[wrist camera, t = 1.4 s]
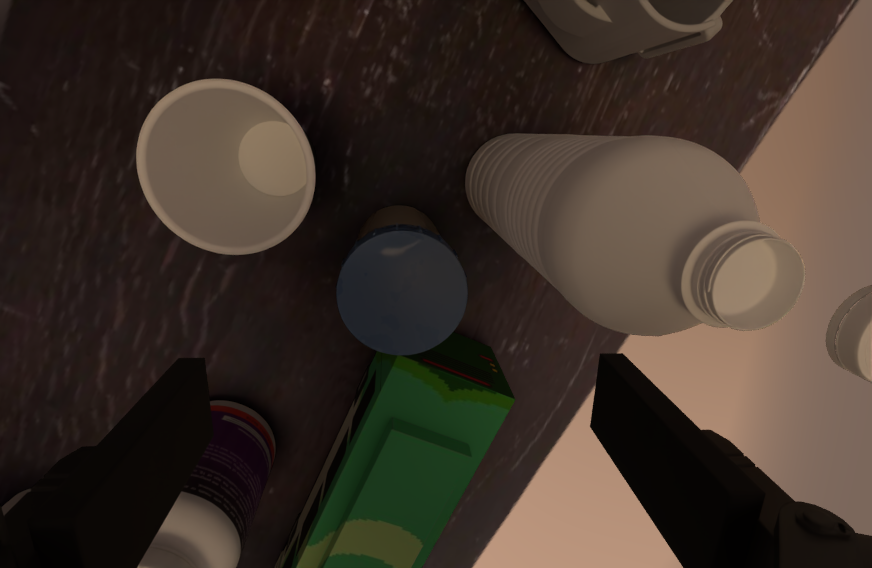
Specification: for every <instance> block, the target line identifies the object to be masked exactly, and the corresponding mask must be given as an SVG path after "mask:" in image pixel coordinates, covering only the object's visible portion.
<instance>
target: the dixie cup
mask: <svg viewBox="0 0 872 568" xmlns="http://www.w3.org/2000/svg"><path fill="white" fill-rule="evenodd" d="M136 162H137V171H138V177H139V180H140V184H141V187H142V190H143V192H144V195H145V197H146V199H147V201H148V203H149V204H150V206H151V207H152V209H153V211H154V212H155V213H156V215H157V216H158V217H159V218H160V219H161V221H162V222H163V223H164V224H165V225H166V226H167V227H168V228H169V229H170V230H172V231H173V232H174V233H175V234H176V235H178V236H179V237H181V238H182V239H184V240H185V241H187V242H189V243H191V244H193V245H195V246H197V247H199V248H202V249H205V250H208V251H211V252H215V253H220V254H229V255H244V254H251V253H256V252H260V251H263V250H266V249H268V248H271V247H273V246H275V245H277V244H278V243H280V242H282V241H283V240H284V239H286V238H287V237H288V236H289V235H291V234H292V233H293V232H294V231H295V230H296V228H297V227H298V226H299V225H300V223H301V222H302V221H303V219H304V217H305V216H306V214H307V212H308V210H309V208H310V205H311V202H312V199H313V195H314V190H315V177H316V174H315V173H316V167H317V158H316V152H315V149H314V146H313V144H312V142H311V140H310V138H309V137H308V135H307V134H306V133H305V132H304V130H302V128H301V126H300V125H299V123H298V122H297V121H296V119H295V118H294V117H293V115H292V114H291V113H290V112H289V111H288V110H287V109H286V108H285V107H284V106H283V105H282V104H281V103H280V102H278V101H277V100H276V99H275V98H273V97H272V96H270V95H269V94H267V93H266V92H264V91H262V90H260V89H258V88H256V87H254V86H251V85H249V84H246V83H242V82H239V81H234V80H228V79H204V80H199V81H194V82H191V83H188V84H185V85H183V86H181V87H178V88H177V89H175V90H173V91H172V92H170V93H169V94H167V95H166V96H165V97H163V98H162V99H161V100H160V101H159V102H158V103H157V104H156V105H155V106H154V108H153V109H152V110H151V112H150V113H149V115H148V116H147V118H146V120H145V122H144V124H143V126H142V129H141V131H140V134H139V139H138V143H137V152H136Z"/></svg>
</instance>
